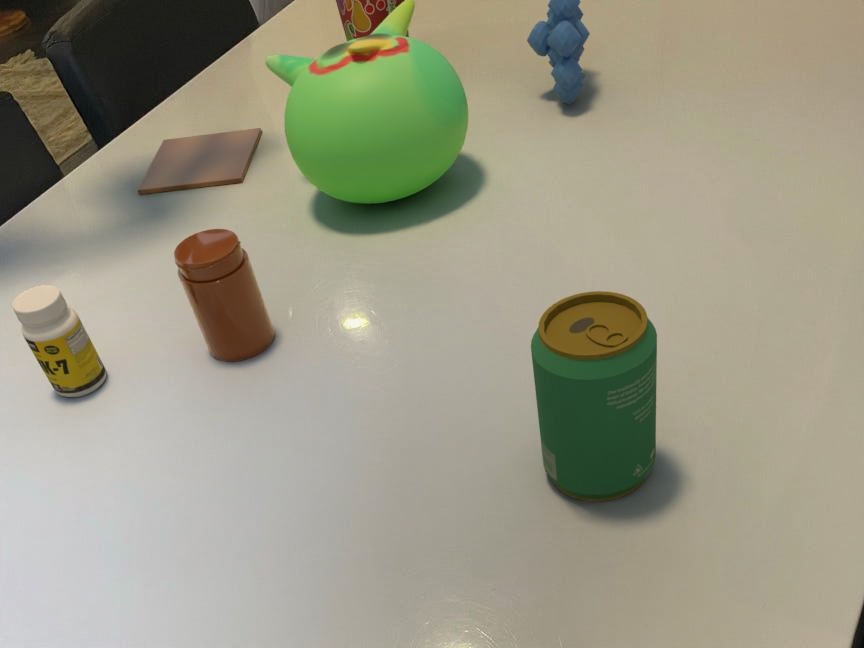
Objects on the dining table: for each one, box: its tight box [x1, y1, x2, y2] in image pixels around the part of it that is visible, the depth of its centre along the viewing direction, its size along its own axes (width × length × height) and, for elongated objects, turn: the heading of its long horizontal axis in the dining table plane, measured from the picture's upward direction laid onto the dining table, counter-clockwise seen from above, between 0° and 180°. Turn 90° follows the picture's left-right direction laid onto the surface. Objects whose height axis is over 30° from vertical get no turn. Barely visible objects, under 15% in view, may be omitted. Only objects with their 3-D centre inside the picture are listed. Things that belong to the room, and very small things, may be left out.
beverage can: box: [530, 290, 658, 502], centre depth 65 cm, size 8×8×12 cm
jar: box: [173, 228, 276, 362], centre depth 82 cm, size 6×6×9 cm
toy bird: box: [264, 0, 469, 205], centre depth 94 cm, size 18×17×15 cm
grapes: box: [526, 0, 590, 105], centre depth 103 cm, size 12×7×12 cm, turn 175°
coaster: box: [137, 127, 263, 195], centre depth 109 cm, size 12×12×1 cm
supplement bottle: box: [11, 284, 107, 398], centre depth 82 cm, size 5×5×8 cm
